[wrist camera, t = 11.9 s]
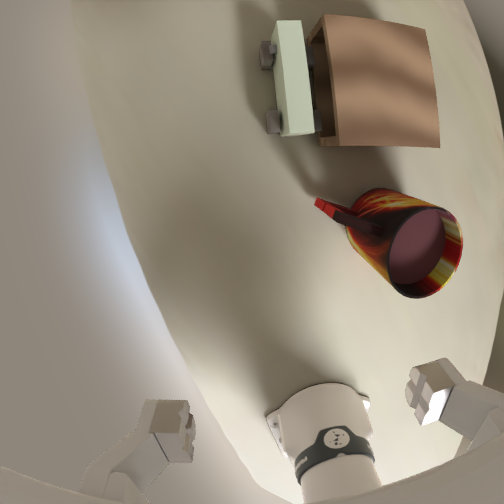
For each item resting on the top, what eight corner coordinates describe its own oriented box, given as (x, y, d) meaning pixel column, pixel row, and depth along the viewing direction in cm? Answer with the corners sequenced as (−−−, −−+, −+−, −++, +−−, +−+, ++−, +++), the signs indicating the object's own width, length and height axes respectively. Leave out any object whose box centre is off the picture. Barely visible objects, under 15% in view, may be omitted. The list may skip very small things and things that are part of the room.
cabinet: (405, 145, 35) (440, 148, 27) (268, 149, 35) (277, 149, 27) (394, 45, 30) (424, 29, 23) (257, 39, 30) (262, 13, 23)
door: (300, 135, 34) (314, 132, 27) (274, 137, 34) (282, 134, 27) (290, 41, 30) (300, 20, 23) (263, 42, 30) (269, 20, 23)
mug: (311, 196, 37) (342, 218, 25) (409, 184, 37) (464, 201, 25) (318, 269, 40) (346, 316, 29) (410, 252, 40) (458, 288, 28)
